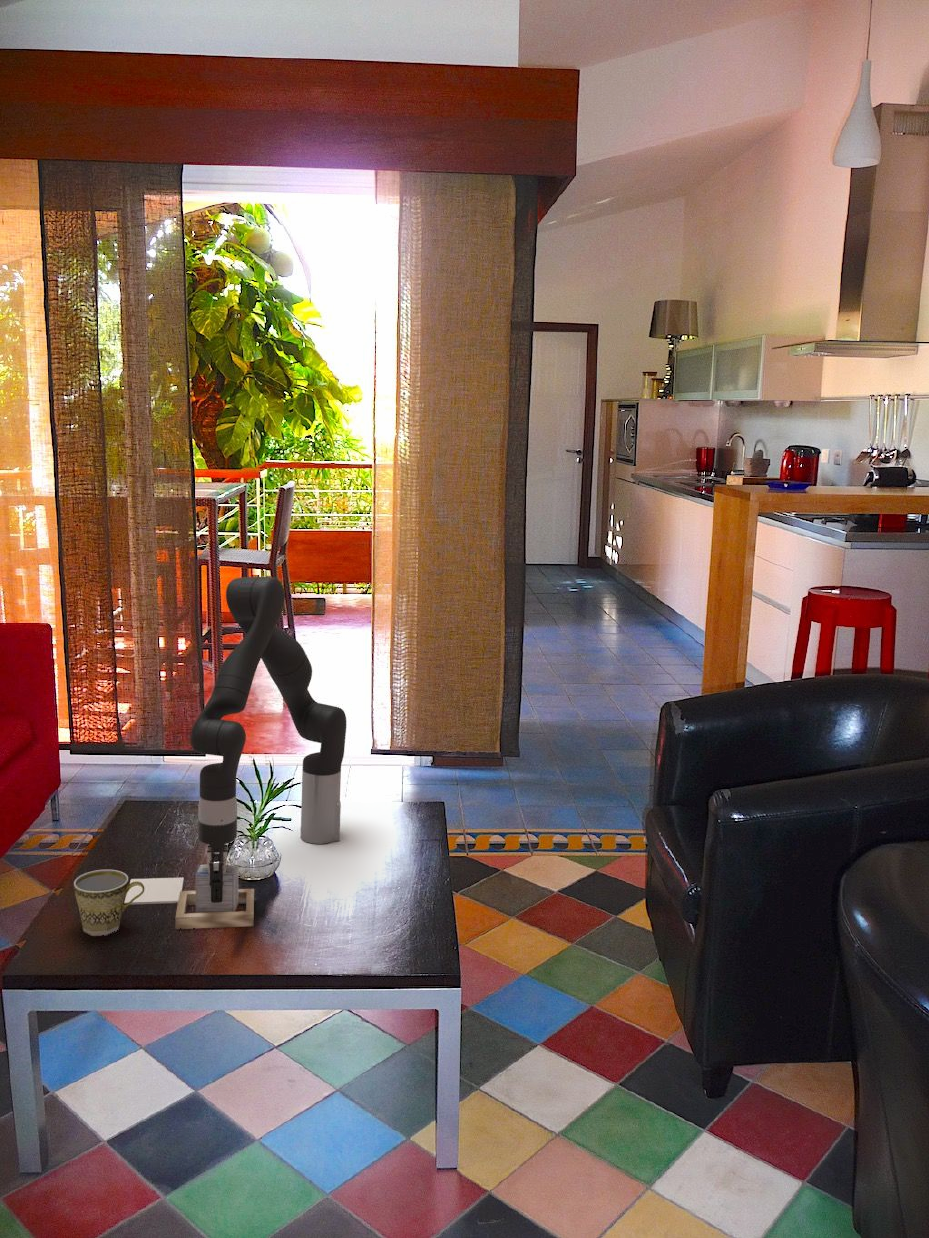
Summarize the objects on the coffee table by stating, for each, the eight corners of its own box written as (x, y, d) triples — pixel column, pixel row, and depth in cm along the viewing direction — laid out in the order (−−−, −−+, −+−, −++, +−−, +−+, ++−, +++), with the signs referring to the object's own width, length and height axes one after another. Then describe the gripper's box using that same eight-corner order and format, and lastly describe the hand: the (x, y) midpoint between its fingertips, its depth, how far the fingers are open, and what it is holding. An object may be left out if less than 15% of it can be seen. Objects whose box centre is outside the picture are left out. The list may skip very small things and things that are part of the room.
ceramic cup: (70, 941, 192) (69, 892, 190) (79, 916, 202) (78, 869, 200) (141, 938, 195) (141, 890, 193) (147, 914, 204) (147, 867, 202)
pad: (183, 879, 220) (183, 877, 220) (179, 902, 210) (179, 900, 210) (130, 881, 218) (130, 879, 218) (124, 904, 208) (124, 902, 208)
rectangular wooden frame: (253, 899, 213) (254, 888, 213) (253, 926, 202) (253, 914, 202) (179, 902, 210) (180, 891, 210) (175, 929, 199) (175, 917, 199)
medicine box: (238, 904, 208) (239, 864, 207) (234, 914, 204) (235, 874, 202) (200, 902, 208) (200, 863, 206) (195, 913, 204) (195, 873, 202)
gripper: (236, 830, 196) (235, 911, 199) (237, 802, 210) (236, 879, 213) (196, 831, 195) (196, 913, 198) (200, 803, 208) (200, 880, 212)
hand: (217, 895), depth 206 cm, fingers closed on medicine box, 5 cm apart
